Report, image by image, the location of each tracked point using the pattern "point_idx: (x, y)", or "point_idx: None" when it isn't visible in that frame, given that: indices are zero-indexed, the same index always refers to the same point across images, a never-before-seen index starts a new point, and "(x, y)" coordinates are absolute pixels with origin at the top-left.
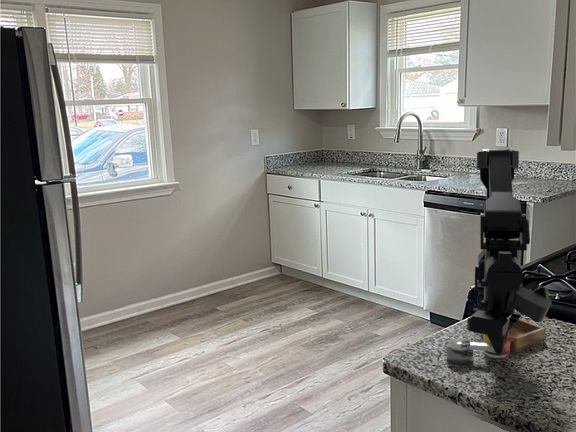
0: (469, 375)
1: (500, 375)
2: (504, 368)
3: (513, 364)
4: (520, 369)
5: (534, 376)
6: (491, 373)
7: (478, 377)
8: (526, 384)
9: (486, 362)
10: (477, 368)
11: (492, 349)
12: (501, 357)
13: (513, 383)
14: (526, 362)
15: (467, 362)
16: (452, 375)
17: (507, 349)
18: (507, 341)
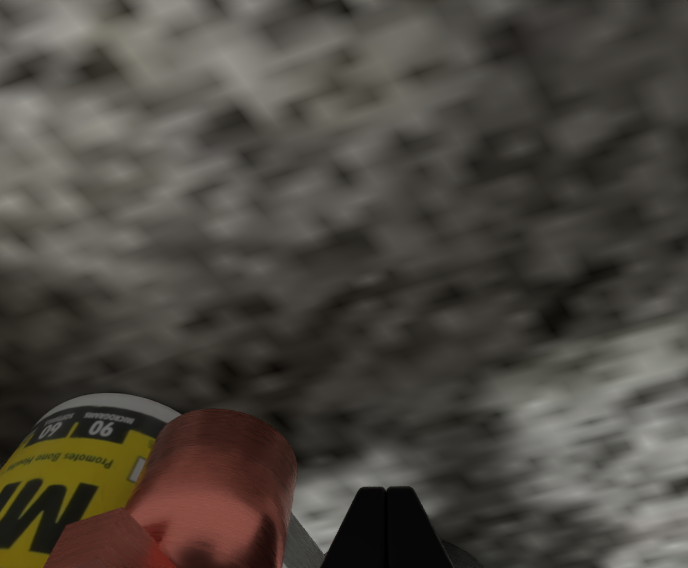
0: (624, 491)
1: (510, 324)
2: (352, 338)
3: (222, 303)
4: (280, 221)
5: (348, 43)
6: (509, 389)
7: (632, 439)
8: (596, 54)
9: (333, 466)
10: (474, 484)
11: (304, 551)
12: (180, 414)
13: (629, 179)
14: (93, 222)
15: (451, 559)
16: (673, 563)
17: (242, 464)
18: (204, 562)
